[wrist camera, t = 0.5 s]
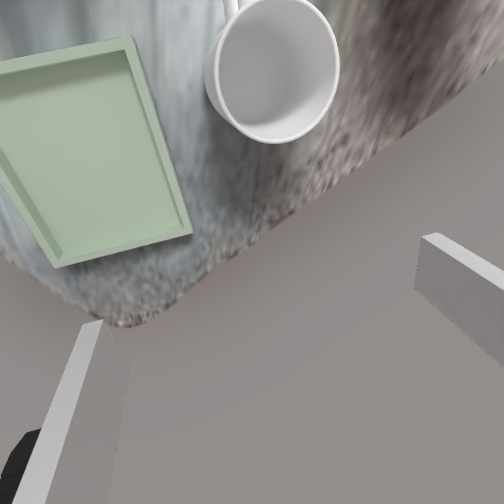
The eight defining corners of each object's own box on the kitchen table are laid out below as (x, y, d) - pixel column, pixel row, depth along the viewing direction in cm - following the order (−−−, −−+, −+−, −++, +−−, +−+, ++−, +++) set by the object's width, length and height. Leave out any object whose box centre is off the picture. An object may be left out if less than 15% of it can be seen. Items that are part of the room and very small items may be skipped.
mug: (267, -42, 25) (316, -112, 16) (299, 108, 32) (348, 119, 22) (170, -5, 25) (165, -55, 16) (222, 138, 31) (239, 162, 22)
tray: (-49, 75, 25) (-68, 74, 23) (134, 38, 26) (130, 35, 24) (61, 258, 34) (54, 268, 32) (192, 224, 35) (193, 232, 33)
